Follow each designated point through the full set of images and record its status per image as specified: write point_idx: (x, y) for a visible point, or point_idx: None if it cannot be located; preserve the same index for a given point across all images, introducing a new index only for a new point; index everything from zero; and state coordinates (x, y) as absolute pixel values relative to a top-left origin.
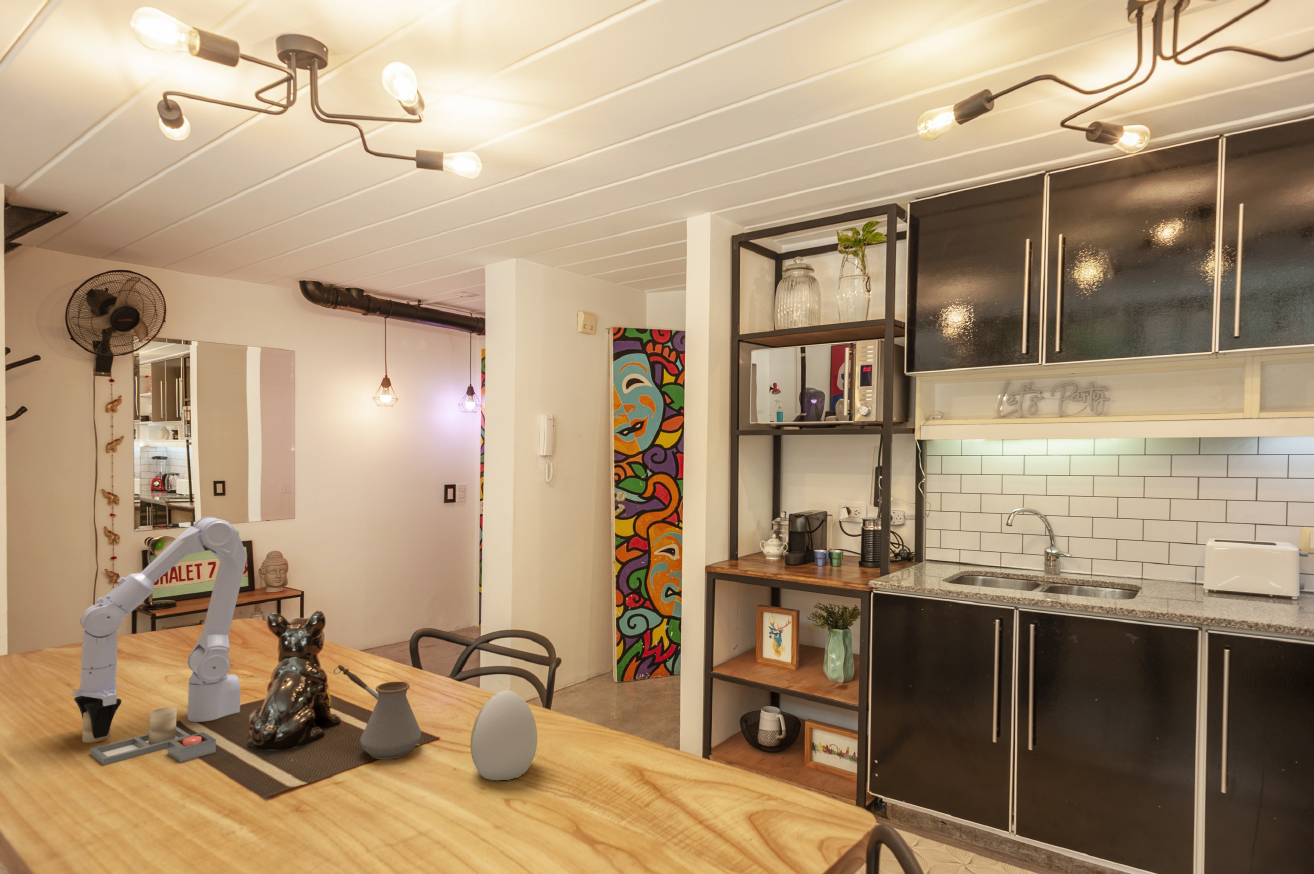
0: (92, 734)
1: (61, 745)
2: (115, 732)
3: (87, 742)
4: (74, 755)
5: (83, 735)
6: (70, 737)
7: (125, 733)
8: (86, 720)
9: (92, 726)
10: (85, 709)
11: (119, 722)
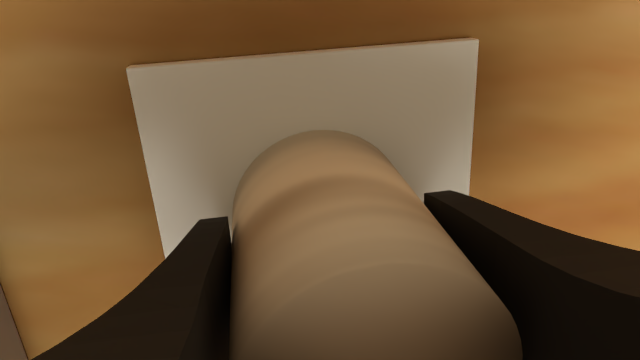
0: (244, 220)
1: (479, 16)
2: None
3: (264, 163)
4: (153, 48)
5: (314, 160)
6: (601, 97)
7: None
8: (296, 248)
9: (174, 263)
10: (551, 305)
11: None
